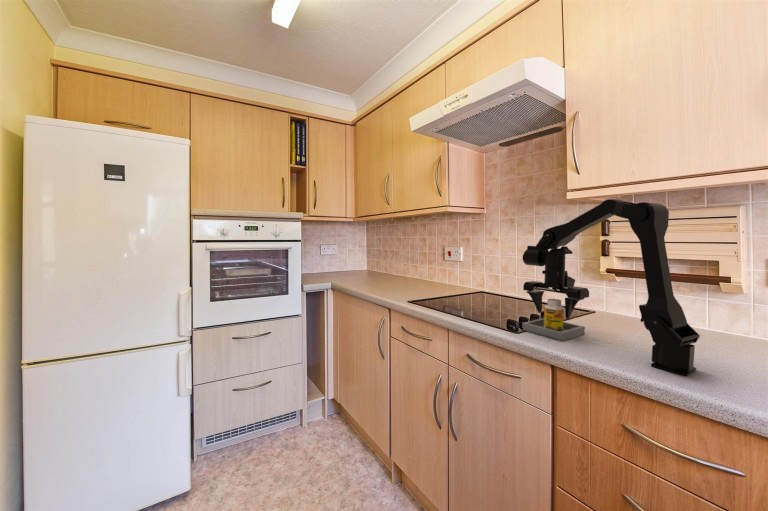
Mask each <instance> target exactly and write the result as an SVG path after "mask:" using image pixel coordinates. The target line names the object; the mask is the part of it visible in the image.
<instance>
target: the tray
mask: <svg viewBox="0 0 768 511" xmlns="http://www.w3.org/2000/svg"><path fill="white" fill-rule="evenodd" d="M521 326H522V327H521V328H523V329H525V330H526V331H527V332H526V331H525V332H526V333H531V334H533V333H534V335H537V336H540V335H541V337H545V338H548V339H552V340H555V341H557V342H558V341H559V342H564V341H567V340H570V339H571V340H572V339H573V338H577V337H580V336H584V335H585V333H586V332H585V331H586V330H585V329H586V326H584V325H579V324H575V323H571V322H566V321H563V331H561V332H559V331H555V330H551V329H547V328H544V317H542V318H537V319H534V320H530V321H529V320H528V321H526V322H522V325H521Z"/></svg>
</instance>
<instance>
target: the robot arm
mask: <svg viewBox="0 0 768 511" xmlns="http://www.w3.org/2000/svg"><path fill="white" fill-rule="evenodd" d="M614 216H615V217H619V218H621V219H627V220H628V223H629V225H630V228H631V230H632V232H633V233H634V234H635V235H636V237H637V239H638V240H639V244H640V250H641V251H640V252H641V258H642V264H643V270H644V276H645V283H646V289H647V295H648V296H647V297H648V298H647V301H646V303H643V304H639V305H638V310H639V312H640V315H641V316H640V322H641V323H643V325H644V327H645V329H646V330H647V331H648V332H649V333H650V336H651V337H650V338H651V339H652V341H653V343H654V344H653V345H652V346H651V348H652V349H651V362H652V363H650V366H651V367H653V368H656V369H661V370H662V371H663V370H664V371H667V372H672V373H674V374H678V375H681V376H686V377H688V376H689V375H690V374H692V373H693V372H695V371H697V367H695V366H694V365H695V364H694V363H695V349H696V346H695V344H696V343H697V342H698V340H699V339H700V336H701V335H700V334H699V333H698V332H697V331H696V330H695V329H694V328H693V327H692V326H691V325H690V324H689V322H688V320H687V318H686V315H685V312H684V310H683V307H682V305H681V304H680V303H679V301H678V300H677V298H676V297H675V295H674V291H673V290H674V289H673V285H672V284H673V283H672V279H671V278H672V277H671V271H670V266H669V260H668V254H667V247H666V242H665V236H666V233H667V230H668V228H669V217H670V212H669V209H668V208H667V206H665V205H664V204H662V203H657V202H648V201H647V202H645V201H644V202H637V203H635V202H629V201H624V200H622V199H619V198H618V199H617V198H607V199H605V200H604V201H602V202H601V203H599V204H598V205H595V206H594V207H593V208H591V209H589V210H587V211H585V212H584V213H581V215H579V216H577V217H575V218H573V219H572V220H569V221H568V222H565V223H562V224H559V225H555V226H551V227H549V228H546V229H545V230H544V231H543V232H542V236H541V237H540V239H539V240H538V242H537V244H535V245H527V247H526V250H525V251H523V252H524V253H523V255H522V262H523V264H525V265H526V266H533V267H535V266H536V267H544V270H541V271H542V272H541V274H544V279H543V281H544V282H543V281H536V280H535V281H534V280H531V281H525V282H524V283H523V287H522V288H523V291H526V294H528V296H530V299H531V300H532V302H533V304H534V306H535V308H536V310H537V312H538V313H539V314H541V313H542V311H543V295H544V293H545V292H552V293H557V294H558V293H559V294H563V295H564V294H565V295H566V297H564V313H565V314H564V316H565V318H566V320H569V319H570V318H571V316H572V313H573V311H574V309H575V307H576V306H577V304H578V303H579V302H580V301H582V300H583V301H584V300H585V299H586V298H590V291H589V289H588V287H583V286H581V287H580V286H575V283H576V279H575V278H573V277H571V276H569V273H568V270H566V255H572V254H574V252H573V251H572V250H571V249H570V248H569V247H568V246H567V245H568V244H570V243H571V242H572V241H574V239H575V238H576V237H577V236H578V235H579V234H581V233H583V232H584V231H586V230H588V229H591V228H592V227H594V226H596V225H598V224H600V223H602V222H604V221H606V220H608V219H610V218H612V217H614Z"/></svg>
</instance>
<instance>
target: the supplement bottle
mask: <svg viewBox="0 0 768 511" xmlns="http://www.w3.org/2000/svg"><path fill="white" fill-rule="evenodd" d="M546 300H547V301H546V303H547V304H545V305H544V308H543V309H544V310H543V312H544V313H543V318H544V328H547V329H551V330H555V331H559V332H561V331H563V322H564V316H565V314H564V313H565V306H562V300H561V299H558V298H547V299H546Z"/></svg>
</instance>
